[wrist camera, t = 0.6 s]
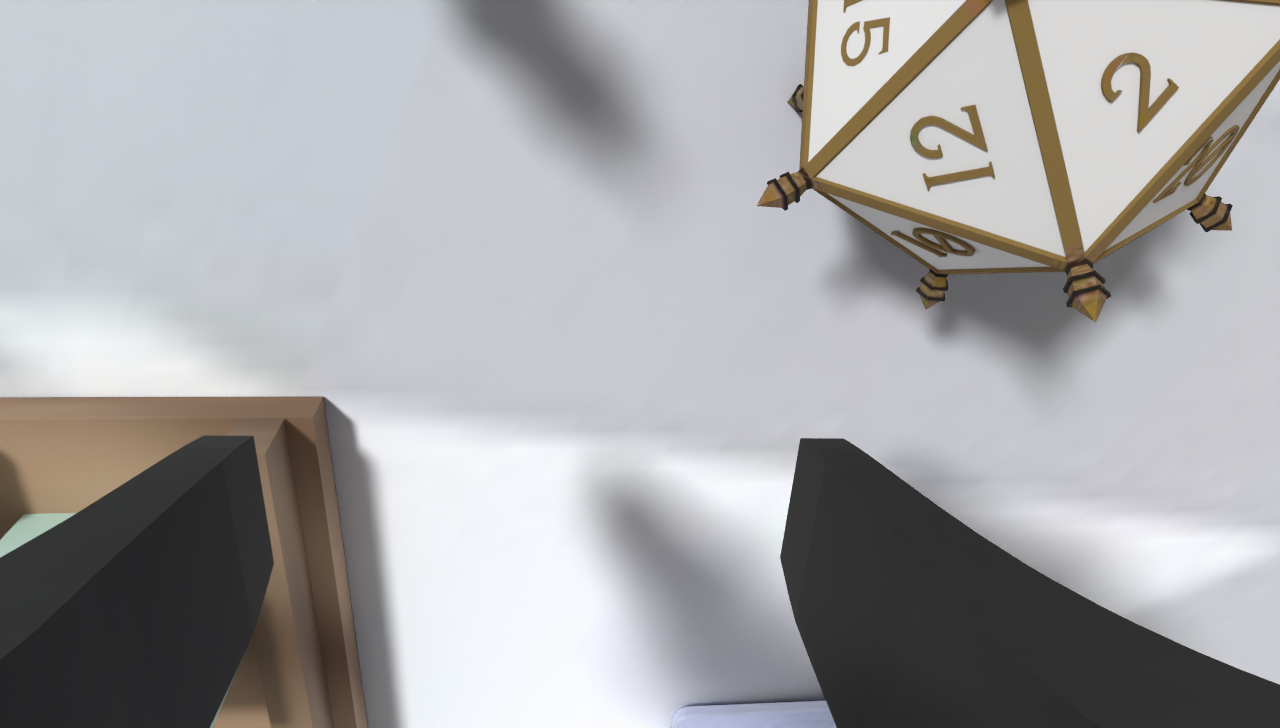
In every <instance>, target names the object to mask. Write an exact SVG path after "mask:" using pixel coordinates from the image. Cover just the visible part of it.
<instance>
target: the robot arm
mask: <svg viewBox="0 0 1280 728" xmlns="http://www.w3.org/2000/svg"><path fill="white" fill-rule="evenodd" d="M780 558H781V563H782V567H783V572H784V576H785V581H786V585H787V590H788V594H789V598H790V602H791V606H792V610H793V614H794V617H795V621H796V624H797V627H798V630H799V632H800V635H801V638H802V640H803V643H804V645H805V648H806V651H807V653H808V656H809V658H810V661H811V664H812V666H813V669H814V671H815V674H816V677H817V679H818V682H819V684H820V687H821V689H822V692H823V694H824V697H825V699H826V701H803V702H780V703H757V704H733V705H710V706H689V707H683V708H681V709H679V710H678V711H677V712H676V713H675V714H674V715H673V718H672V724H671V728H1280V685H1279V684H1276V683H1274V682H1271V681H1268V680H1266V679H1263V678H1261V677H1258V676H1255V675H1253V674H1250V673H1248V672H1245V671H1242V670H1240V669H1237V668H1235V667H1233V666H1230V665H1228V664H1225V663H1223V662H1221V661H1218V660H1216V659H1213V658H1211V657H1209V656H1206V655H1204V654H1201V653H1199V652H1197V651H1194V650H1192V649H1190V648H1188V647H1185V646H1183V645H1181V644H1179V643H1177V642H1175V641H1172V640H1170V639H1168V638H1166V637H1164V636H1161V635H1159V634H1157V633H1155V632H1153V631H1151V630H1148V629H1146V628H1144V627H1142V626H1140V625H1138V624H1135V623H1133V622H1131V621H1129V620H1127V619H1125V618H1123V617H1121V616H1119V615H1117V614H1115V613H1113V612H1111V611H1109V610H1107V609H1105V608H1103V607H1101V606H1099V605H1097V604H1096V603H1094V602H1092V601H1090V600H1088V599H1086V598H1085V597H1083V596H1081V595H1079V594H1077V593H1075V592H1074V591H1072V590H1070V589H1068V588H1066V587H1064V586H1063V585H1061V584H1059V583H1057V582H1055V581H1053V580H1052V579H1050V578H1048V577H1046V576H1045V575H1043V574H1041V573H1040V572H1038V571H1036V570H1035V569H1033V568H1031V567H1029V566H1028V565H1026V564H1024V563H1023V562H1021V561H1020V560H1018V559H1017V558H1015V557H1013V556H1012V555H1010V554H1009V553H1007V552H1006V551H1004V550H1002V549H1001V548H999V547H998V546H996V545H995V544H993V543H992V542H990V541H988V540H987V539H985V538H984V537H982V536H981V535H979V534H978V533H976V532H975V531H973V530H972V529H970V528H969V527H967V526H966V525H964V524H963V523H962V522H960V521H959V520H957V519H956V518H954V517H953V516H951V515H950V514H949V513H947V512H946V511H944V510H943V509H942V508H940V507H939V506H937V505H936V504H935V503H933V502H932V501H930V500H929V499H928V498H926V497H925V496H924V495H922V494H921V493H919V492H918V491H917V490H915V489H914V488H913V487H911V486H910V485H909V484H907V483H906V482H905V481H903V480H902V479H900V478H899V477H898V476H896V475H895V474H894V473H892V472H891V471H890V470H888V469H887V468H886V467H884V466H883V465H882V464H880V463H879V462H877V461H876V460H875V459H873V458H872V457H870V456H869V455H868V454H866V453H865V452H863V451H862V450H861V449H859V448H858V447H856V446H855V445H853V444H851V443H850V442H848V441H847V440H845V439H812V438H801V439H800V444H799V450H798V456H797V462H796V468H795V474H794V480H793V486H792V492H791V497H790V503H789V509H788V515H787V521H786V527H785V533H784V539H783V545H782V550H781V556H780ZM273 565H274V559H273V553H272V547H271V541H270V535H269V528H268V522H267V516H266V510H265V504H264V497H263V491H262V485H261V479H260V473H259V466H258V460H257V454H256V448H255V441H254V436H211V435H204V436H202V437H200V438H198V439H196V440H194V441H192V442H190V443H189V444H187V445H185V446H183V447H182V448H180V449H178V450H177V451H175V452H173V453H172V454H170V455H168V456H167V457H165V458H164V459H162V460H160V461H159V462H157V463H156V464H154V465H152V466H151V467H149V468H148V469H146V470H144V471H143V472H141V473H140V474H138V475H137V476H135V477H133V478H132V479H130V480H129V481H127V482H126V483H124V484H122V485H121V486H119V487H118V488H116V489H114V490H113V491H111V492H110V493H108V494H106V495H105V496H103V497H102V498H100V499H98V500H97V501H95V502H94V503H92V504H90V505H89V506H87V507H86V508H84V509H82V510H81V511H79V512H78V513H76V514H75V515H73V516H71V517H70V518H68V519H66V520H65V521H63V522H61V523H59V524H58V525H56V526H54V527H53V528H51V529H49V530H47V531H46V532H44V533H42V534H40V535H39V536H37V537H35V538H33V539H32V540H30V541H28V542H27V543H25V544H23V545H21V546H20V547H18V548H16V549H14V550H13V551H11V552H9V553H7V554H6V555H4V556H2V557H0V728H210V726H211V724H212V722H213V720H214V718H215V716H216V714H217V711H218V709H219V707H220V705H221V703H222V701H223V699H224V696H225V694H226V692H227V690H228V688H229V686H230V683H231V681H232V679H233V677H234V675H235V672H236V670H237V668H238V666H239V664H240V661H241V659H242V657H243V655H244V653H245V650H246V648H247V646H248V644H249V641H250V639H251V637H252V634H253V632H254V629H255V626H256V623H257V619H258V616H259V613H260V610H261V607H262V604H263V601H264V597H265V593H266V590H267V586H268V583H269V579H270V576H271V572H272V569H273Z"/></svg>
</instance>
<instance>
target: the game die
mask: <svg viewBox="0 0 1280 728" xmlns="http://www.w3.org/2000/svg"><path fill="white" fill-rule="evenodd" d="M1279 80H1280V0H809V7H808V25H807V43H806V61H805V79H804V86H802V85H801V84H800V85H798V87H797V89H796V90H795V92H794V93H793V95H792V97H791V98H790V99H789V101H788V103H789V104H790V105H792V106H793V107H794V108H796V111H797V113H799V112H803V115H802V133H801V151H800V169H799V171H798V172H797V173H793V174H789V172H787V173H785V174H782V175H780V179H778V180H776V178H775V179H773V180H771V181H768V182H767V184H768V187H767V188H766V190H765V192H764V194H763V195H762V197H761V199H760V201H759V202H758V204H757V206H766V207H780V208H783V209H784V210H785V211H786V210H787V209H788V205H789V204H791V203H792V202H794V201H795V202H796V203H798V202H799V201H800V196H801V195H802V194H803V193H804V192H805V191H806V190H807V189H811V188H812V189H814V190H815V191H817V192H818V193H819V194H821V195H822V196H824V197H825V198H827V199H828V200H830V201H831V202H833V203H834V204H836V205H837V206H839V207H840V208H841V209H843V210H844V211H846V212H847V213H849V214H850V215H852V216H853V217H855V218H856V219H858V220H859V221H861V222H862V223H863V224H865V225H866V226H868V227H869V228H871V229H872V230H874V231H875V232H877V233H878V234H880V235H881V236H883V237H884V238H885V239H887V240H888V241H890V242H891V243H893V244H894V245H896V246H897V247H899V248H900V249H902V250H903V251H905V252H906V253H907V254H909V255H910V256H912V257H913V258H915V259H916V260H918V261H919V262H921V263H922V264H924V265H925V266H927V267H928V268H929V269H930V272H929V273H928V274H927V276H925V277H923V278H921V280H920V281H921V282H922V285H921V287H919V288H917V290H916V291H917V292H918V293H919V294H920V296H921V299H922V301H923V304H924V307H925V309H928V308H929V307H931V306H933V305H934V304H936V303H937V302H939V301H944V300H945V294H944V292H945V290H946V291H947V290H948V283H947V279H946V277H947V275H948V274H984V273H1028V272H1066V274H1067V275H1068V278H1067V283H1066V285H1065V287H1064V289H1063V290H1064V293H1068V296H1069V299H1068V301H1067V303H1066V305H1067V307H1074V308H1075V309H1077V310H1078V311H1080V312H1081V313H1083V314H1084V315H1086V316H1087V317H1089V318H1090V319H1092V320H1093V321H1094V322H1096V320H1097V318H1098V316H1099V314H1100V311H1101V309H1102V307H1103V305H1104V302H1105V300H1106V299H1107V298H1109V297H1111V294H1110V293H1109V292H1108V291H1107V290H1106V289H1105V288H1104V287H1103V283H1105V279H1104V278H1103V277H1102V276H1101V275H1099V274H1098V273H1097V272H1096V271H1094V270H1093V264H1094V263H1095V262H1097V261H1099V260H1101V259H1102V258H1104V257H1106V256H1107V255H1109V254H1111V253H1113V252H1114V251H1116V250H1118V249H1119V248H1121V247H1123V246H1125V245H1126V244H1128V243H1130V242H1131V241H1133V240H1135V239H1136V238H1138V237H1140V236H1142V235H1143V234H1145V233H1147V232H1148V231H1150V230H1152V229H1154V228H1155V227H1157V226H1159V225H1160V224H1162V223H1164V222H1166V221H1167V220H1169V219H1171V218H1172V217H1174V216H1176V215H1178V214H1179V213H1181V212H1183V211H1184V210H1186V209H1187V210H1190V211H1191V213H1190V215H1191V217H1192V218H1193V220H1194V221H1195V222H1196V223H1197V224H1198V223H1200V225H1201V226H1202V228H1203V229H1204V231H1205V232H1208V231H1210V230H1232V226H1231V217H1230V211H1231V208H1232V205H1231V204H1224V203H1222V202H1221V200H1222V198H1221V197H1210V196H1207V195H1206V194H1205V192H1206V190H1207V189H1208V187H1209V186H1210V184H1211V183H1212V181H1213V180H1214V178H1215V177H1216V175H1217V174H1218V172H1219V171H1220V169H1221V168H1222V166H1223V164H1224V163H1225V161H1226V160H1227V158H1228V157H1229V155H1230V154H1231V152H1232V151H1233V149H1234V148H1235V146H1236V145H1237V143H1238V142H1239V140H1240V139H1241V137H1242V136H1243V134H1244V133H1245V131H1246V130H1247V128H1248V127H1249V125H1250V124H1251V122H1252V121H1253V119H1254V117H1255V116H1256V114H1257V113H1258V111H1259V110H1260V108H1261V107H1262V105H1263V104H1264V102H1265V101H1266V99H1267V98H1268V96H1269V95H1270V93H1271V92H1272V90H1273V89H1274V87H1275V86H1276V84H1277V83H1278V81H1279Z"/></svg>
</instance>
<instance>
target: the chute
mask: <svg viewBox="0 0 1280 728" xmlns="http://www.w3.org/2000/svg"><path fill="white" fill-rule="evenodd" d="M204 435H211V436H254V441H255V448H256V454H257V460H258V466H259V473H260V479H261V485H262V491H263V497H264V504H265V510H266V516H267V522H268V528H269V535H270V541H271V547H272V553H273V559H274V565H273V569H272V572H271V576H270V579H269V583H268V586H267V590H266V593H265V597H264V601H263V604H262V607H261V610H260V613H259V616H258V619H257V623H256V626H255V629H254V632H253V634H252V637H251V639H250V642H249V644H248V646H247V649H246V651H245V653H244V656H243V658H242V660H241V663H240V665H239V667H238V670H237V672H236V674H235V677H234V679H233V681H232V684H231V686H230V688H229V690H228V693H227V695H226V697H225V700H224V702H223V704H222V707H221V709H220V711H219V714H218V716H217V718H216V721H215V723H214V725H213V728H368V726H367V718H366V711H365V703H364V696H363V688H362V681H361V674H360V666H359V659H358V651H357V644H356V637H355V629H354V622H353V614H352V607H351V599H350V592H349V585H348V577H347V570H346V562H345V555H344V547H343V540H342V533H341V525H340V518H339V510H338V503H337V496H336V488H335V481H334V473H333V466H332V458H331V451H330V444H329V436H328V429H327V421H326V414H325V406H324V399H323V397H51V398H0V540H1V539H2V538H3V536H4V535H5V534H6V533H7V532H8V531H9V530H10V529H11V528H12V527H13V526H14V525H15V523H16V522H17V521H18V520H19V519H20V518H21V517H22V516H23V515H24V514H47V513H78V512H79V511H81V510H82V509H84V508H86V507H87V506H89V505H90V504H92V503H94V502H95V501H97V500H98V499H100V498H102V497H103V496H105V495H106V494H108V493H110V492H111V491H113V490H114V489H116V488H118V487H119V486H121V485H122V484H124V483H126V482H127V481H129V480H130V479H132V478H133V477H135V476H137V475H138V474H140V473H141V472H143V471H144V470H146V469H148V468H149V467H151V466H152V465H154V464H156V463H157V462H159V461H160V460H162V459H164V458H165V457H167V456H168V455H170V454H172V453H173V452H175V451H177V450H178V449H180V448H182V447H183V446H185V445H187V444H189V443H190V442H192V441H194V440H196V439H198V438H200V437H202V436H204Z"/></svg>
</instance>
